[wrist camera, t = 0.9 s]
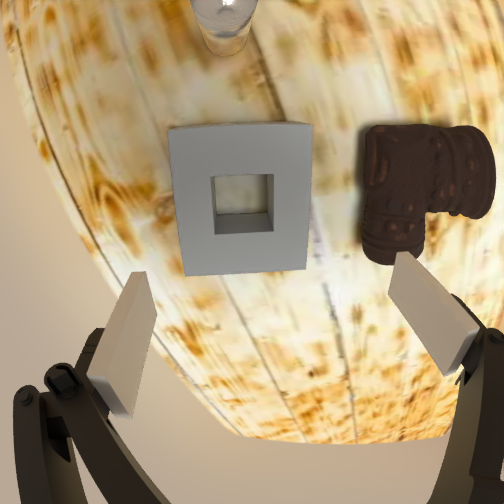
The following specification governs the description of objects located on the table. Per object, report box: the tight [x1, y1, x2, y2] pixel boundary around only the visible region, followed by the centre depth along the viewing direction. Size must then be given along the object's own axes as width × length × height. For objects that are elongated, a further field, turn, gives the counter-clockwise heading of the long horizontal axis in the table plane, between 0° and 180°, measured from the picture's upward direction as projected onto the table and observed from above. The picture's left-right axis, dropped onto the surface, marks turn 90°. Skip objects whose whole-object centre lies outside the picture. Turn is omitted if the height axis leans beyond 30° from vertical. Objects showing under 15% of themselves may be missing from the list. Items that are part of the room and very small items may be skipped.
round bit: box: [190, 0, 258, 56], centre depth 17 cm, size 4×4×12 cm
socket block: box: [168, 122, 312, 276], centre depth 28 cm, size 14×12×5 cm
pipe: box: [361, 124, 496, 265], centre depth 27 cm, size 10×15×15 cm
